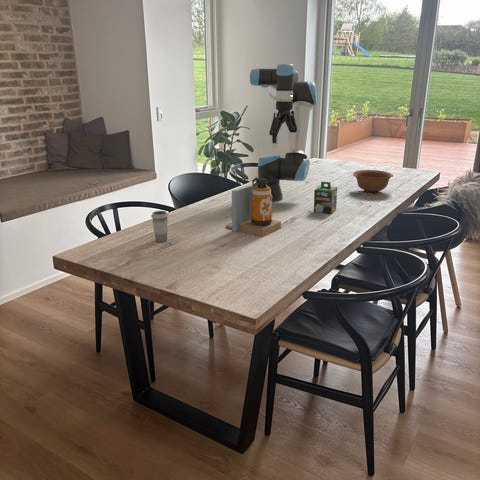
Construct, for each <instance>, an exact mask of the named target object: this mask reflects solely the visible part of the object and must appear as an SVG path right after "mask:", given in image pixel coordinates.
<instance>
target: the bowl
mask: <svg viewBox="0 0 480 480" xmlns="http://www.w3.org/2000/svg"><path fill="white" fill-rule="evenodd" d="M352 175H353V177H355V179H356V182H357V186H358V187H359V189H361V190H363V193H364V194H367V195H378V194H380V192H381V191H383V190H385V189H386V188H387V186H388V185H389V181H390V179H391V178H393V177H394V174H393V173H391V172H388V171H385V170H377V169H359V170H356V171H354V172H352Z"/></svg>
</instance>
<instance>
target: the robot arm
mask: <svg viewBox="0 0 480 480" xmlns="http://www.w3.org/2000/svg"><path fill="white" fill-rule="evenodd" d="M299 79H300V74H299V72H298V71H297V70H296V69H295V67H294V64H292V63H278V64H277V66H276V68H252V69H251V70H250V72H249V83H250V84H251V86H255V87H258V86H260V87H261V88H262V89H263V90H265V91H266V92H267V93H268V95H269V96H270V98H271V99H273V100H275V109H276V110H277V112H273V117H272V120H271V121H272V122H271V126H270V128H269V133H268V135H269V136H271V137H272V138H271V140H272V141H271V142H272V143H271V144H272V146H271V150H272V151H275V152H277V151H279V135H278V134H279V132H280V131H281V128H282V125H283V124H284V123H285V125H286V127H287V129H288V131H289V132H288V131H287V133H288V134H287V135H288V136H287V147H288V151H287V152H286V153H285V154H284V155H285V156H284V157H282V156H281V155H280V154H279V153H278V154H277V153H276V154H275V153H274V154H273V153H272V154H265V155H262V156H259V158H258V160H257V161H258V162H257V179H258V178H260V177H262V178H263V179H267V181H268V182H269V183H268V184H267V186H269V187H270V189H271V194H272V202H277V201H281V200H283V194H284V193H283V191H282V188H281V183H280V181H293V182H303V181H305V180H306V179H307V177H308V174H309V171H310V163H311V161H310V159H309V158H308V155H307V154H306V148H307V139H308V131H309V130H308V129H309V122H310V115H311V111H312V110H313V109H314V106H315V105H317V104H318V87H317V84H316V82H314V81H299Z"/></svg>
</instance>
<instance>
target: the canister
mask: <svg viewBox="0 0 480 480" xmlns="http://www.w3.org/2000/svg"><path fill="white" fill-rule="evenodd" d="M254 183H255V184H254ZM268 183H269V182H268V181H267V179H263V178H262V177H260V178H258V176H257V177H256V176H255V178H254V179H252V180H251V184H253V185H252V187H253V193H252V194H251V218H252V219H251V222H252V223H254V224H256V225H267V224H270V223H271V222H272V220H273V201H272V194H271V189H270V187H269V186H266V185H267V184H268ZM256 185H257V186H256Z"/></svg>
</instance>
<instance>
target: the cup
mask: <svg viewBox="0 0 480 480" xmlns="http://www.w3.org/2000/svg"><path fill="white" fill-rule="evenodd" d="M150 217H151V218H152V226H153V232H154V233H153V234H154V239H155V242H156V243H166V242H167V241H168V223H169V222H168V217H169V214H168V211H166V210H155V211H153V212H152V214H150Z"/></svg>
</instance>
